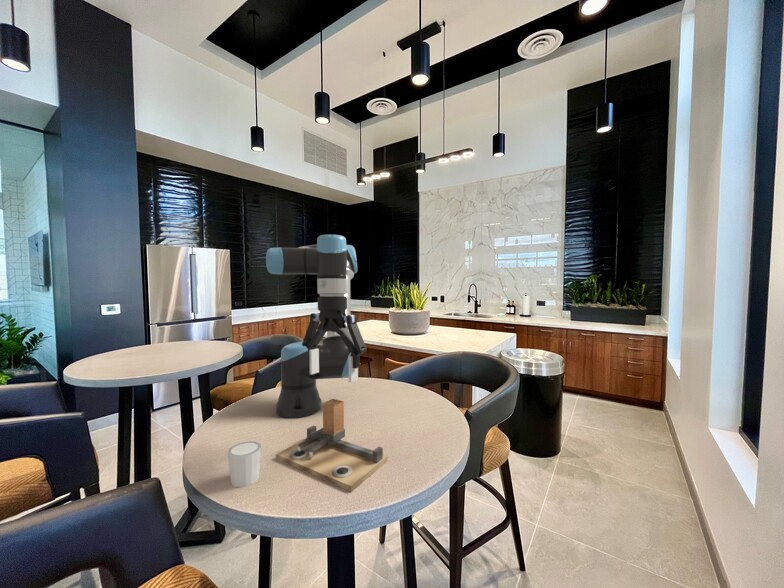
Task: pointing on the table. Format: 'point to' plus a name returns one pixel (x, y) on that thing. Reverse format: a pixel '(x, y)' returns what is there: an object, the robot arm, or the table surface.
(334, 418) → the block
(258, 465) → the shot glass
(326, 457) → the bolt plate
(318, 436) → the fixed leg
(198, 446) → the table surface
